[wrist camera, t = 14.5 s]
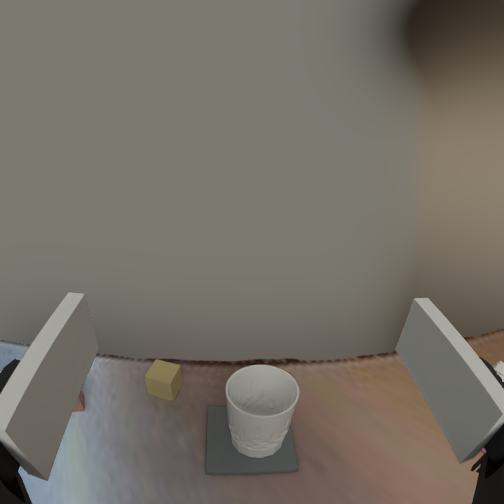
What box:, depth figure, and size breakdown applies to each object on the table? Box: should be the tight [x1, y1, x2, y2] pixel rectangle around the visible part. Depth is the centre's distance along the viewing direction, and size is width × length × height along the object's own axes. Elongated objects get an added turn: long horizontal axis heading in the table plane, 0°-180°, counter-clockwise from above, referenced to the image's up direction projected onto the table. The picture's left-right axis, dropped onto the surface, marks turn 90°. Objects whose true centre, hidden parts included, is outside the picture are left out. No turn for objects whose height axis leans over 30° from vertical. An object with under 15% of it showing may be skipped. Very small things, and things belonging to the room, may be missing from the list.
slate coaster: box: [206, 406, 298, 475], centre depth 36 cm, size 11×11×1 cm
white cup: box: [225, 365, 299, 458], centre depth 33 cm, size 8×8×10 cm
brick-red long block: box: [72, 391, 84, 412], centre depth 36 cm, size 6×3×4 cm, turn 114°
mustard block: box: [145, 359, 183, 401], centre depth 42 cm, size 4×4×4 cm
